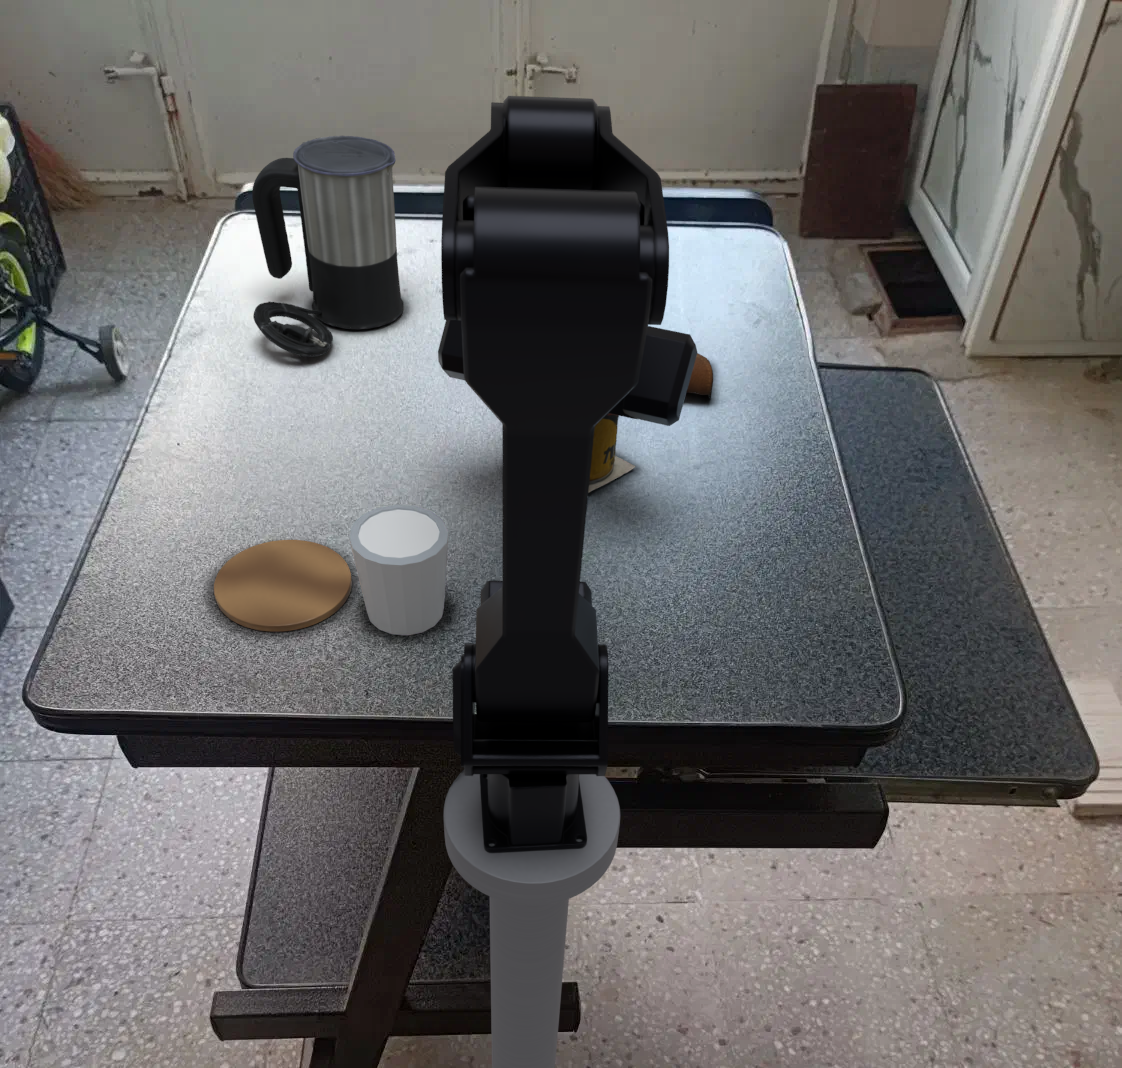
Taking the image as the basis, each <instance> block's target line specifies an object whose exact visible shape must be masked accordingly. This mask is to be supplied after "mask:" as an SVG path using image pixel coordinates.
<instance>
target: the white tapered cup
mask: <svg viewBox="0 0 1122 1068" xmlns="http://www.w3.org/2000/svg"><path fill="white" fill-rule="evenodd" d="M449 539H450V530H449V528H448V525H447V524H446V521H445V520H444V519H443V518H442V517H441V516H440V515H438V514H437V513H435V512H434V511H433V510H431V509H428V508H425V507H422V506H418V505H414V504H402V503H401V504H400V503H395V504H389V505H385V506H383V505H382V506H378V507H376V508H373V509H371V510H370V511H367V512H365V513H363V514H361V515H360V516H359V517H358V518H357V519H356V520H355V521H354V522H353V523H352V524H351V526H350V531H349V534H348V540H349V543H350V548H351V552H352V556H353V561H354V564H355V569H356V573H357V577H358V580H359V585H360V589H361V594H362V598H363V601H364V605H365V610H366V614H367V617H368V619H369V622H370V623H371V624H372V625H373V626H375V627H376V629H378V630H379V631H382V632H385V633H387V634H390V635H395V636H396V635H398V636H412V635H416V634H422V633H425V632H426V631H428V630H430V629H432V628H433V627H435V626H436V625H437V624H438V622H439V621H441V619H442V618H443V614H444V610H445V609H444V608H445V599H446V598H445V597H446V585H447V584H446V583H447V568H448V555H449V553H448V552H449Z"/></svg>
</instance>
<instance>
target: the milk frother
mask: <svg viewBox="0 0 1122 1068" xmlns="http://www.w3.org/2000/svg"><path fill="white" fill-rule="evenodd" d="M395 163H396V155H395V151H394V150H393V148H392V147H390V146H389V145H388V144H387V143H385V142H382V141H379V140H377V139H373V138H367V137H363V136H357V135H356V136H355V135H329V136H322V137H317V138H316V137H315V138H313V139H310V140H307V141H304V142H302V143H301V144H300V145H299V146H297V147H296V148H295V149H294V151H293V153H292V157H280V158H277V159H275V160H272V161H270V162H269V163H268V164H266V165H265V166H264V167H263V168H262V169H261V170H260V172H259V173H258V174H257V176H256V177H255V180H254V182H253V185H252V191H251V197H252V198H251V199H252V204H253V208H254V213H255V216H256V223H257V227H258V232H259V236H260V241H261V245H262V249H263V250H262V251H263V254H264V258H265V263H266V267H267V271H268V273H269V275H270V276H272V277H273V278H274V279H278V280H279V279H283V278H284V277H285V276H286V275H288V274H289V272H290V271H291V269H292V267H293V259H292V253H291V247H290V242H289V236H288V231H287V228H286V227H287V225H286V221H285V216H284V209H283V203H282V198H281V188H291V189H297V197H298V198H297V199H298V205H299V215H300V223H301V230H302V231H301V232H302V239H303V246H304V254H305V263H306V274H307V280H308V281H307V282H308V288H309V291H311V292H312V299H313V301H312V303H311V309H310V308H305V307H301V306H298V305H294V304H291V303H286V302H276V301H269V300H268V301H266V302H262V303H260V304H258V305H257V306H256V307H255V309H254V311H253V321H254V323H255V325H256V326H257V328H258V329H259V331H260V332H261V333H262V335H263V336H265V338H266V339H267V340H269V341H270V342H271V343H273V344H274V346H277V347H279V348H280V349H282V350H284V351H286V352H288V353H291V354H294V355H297V356H299V357H300V358H303V357H310V358H312V357H313V358H314V357H320V356H323V355H325V354H326V353H328V352H329V351H330V350H331V348H332V343H333V341H334V336H333V333H332V332H331V330H330V329H328V327H327V326H326V325H328V326H331V327H337V328H340V329H346V330H368V329H373V328H379V327H383V326H385V325H388V324H390V323H392V322H394V321H395V320H397V319H398V318H399V317H400V316H401V315H402V314H403V312H404V307H405V306H404V305H405V304H404V301H403V299H402V294H401V284H400V274H399V273H400V272H399V264H398V248H397V228H396V227H397V226H396V210H395V208H396V207H395V195H394V176H393V175H394V174H393V167H394V165H395ZM312 315H314V316H312ZM276 317H283V318H290V319H293V320H296V321H298V322H300V323H302V324H304V325H306V326H307V327H308V328H305V327H303V326H300V325H295V324H291V323H285V324H284V323H281V322H278V321H277V320H274V321H272V320H271V318H276ZM325 324H326V325H325ZM313 331H314V332H315V333H316V335H317V336H318V337H319V338H317V337H315V336H314V335H313Z"/></svg>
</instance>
